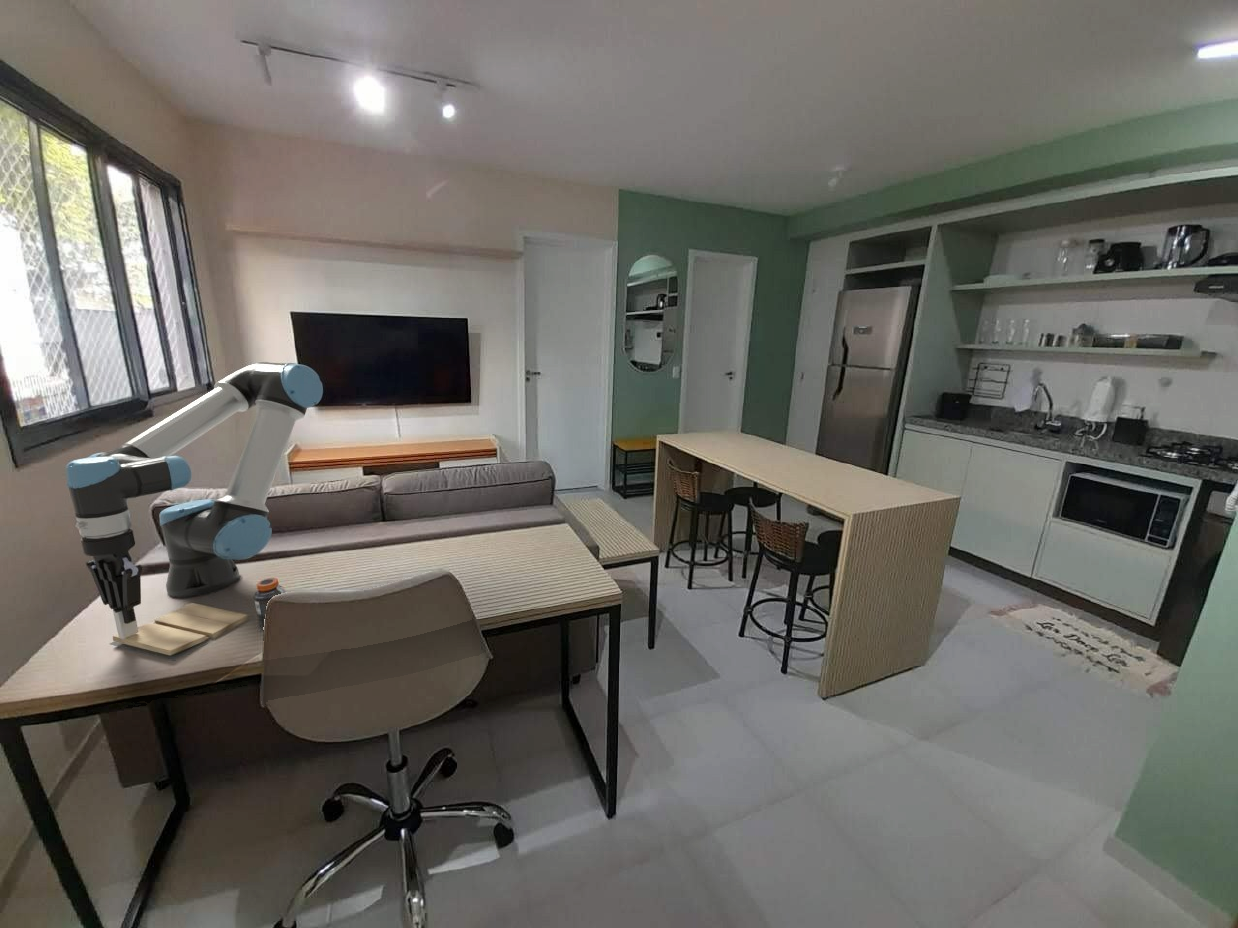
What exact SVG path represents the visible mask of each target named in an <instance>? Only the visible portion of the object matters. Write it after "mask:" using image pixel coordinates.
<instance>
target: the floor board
mask: <svg viewBox="0 0 1238 928" xmlns="http://www.w3.org/2000/svg"><path fill="white" fill-rule="evenodd" d="M248 616H249V615H248V614H246V613H242V612H237V611H232V610H227V609H221V608H218V607H212V606H210V605H209V606H208V605H204V604H199V603H194V602H190V603H188V604H186V605H184V606H183V607H180V608H177V609H175V610H174V611H173V610H172V611H171V612H169V613H167V614H165V615H163V616H161V617H158V618H156V619H154V622H155V624H159V625H163V626H167V627H172V628H176V629H180V630H184V631H189V632H193V633H197V634H201V635H205V636H206V637H210V638H215V637H217V636H219V635H221V634H223V633H224V632H226V631H228V630H230V629H232V628H234V627H235V626H237V625H239V624H241V623H243V622H244V621H246V620H248ZM248 621H249V620H248ZM246 622H247V621H246ZM244 623H245V622H244ZM244 623H243V624H244ZM241 625H242V624H241ZM239 626H240V625H239ZM237 627H238V626H237ZM235 628H236V627H235ZM235 628H234V629H235ZM232 630H233V629H232ZM230 631H231V630H230ZM228 632H229V631H228ZM226 633H227V632H226ZM224 634H225V633H224ZM224 634H223V635H224ZM221 636H222V635H221ZM219 637H220V636H219ZM217 638H218V637H217ZM215 639H216V638H215Z"/></svg>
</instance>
